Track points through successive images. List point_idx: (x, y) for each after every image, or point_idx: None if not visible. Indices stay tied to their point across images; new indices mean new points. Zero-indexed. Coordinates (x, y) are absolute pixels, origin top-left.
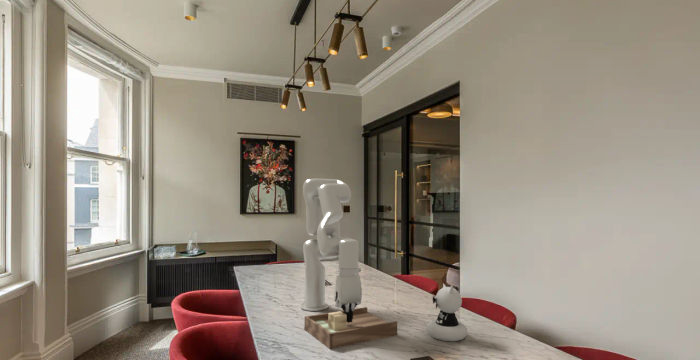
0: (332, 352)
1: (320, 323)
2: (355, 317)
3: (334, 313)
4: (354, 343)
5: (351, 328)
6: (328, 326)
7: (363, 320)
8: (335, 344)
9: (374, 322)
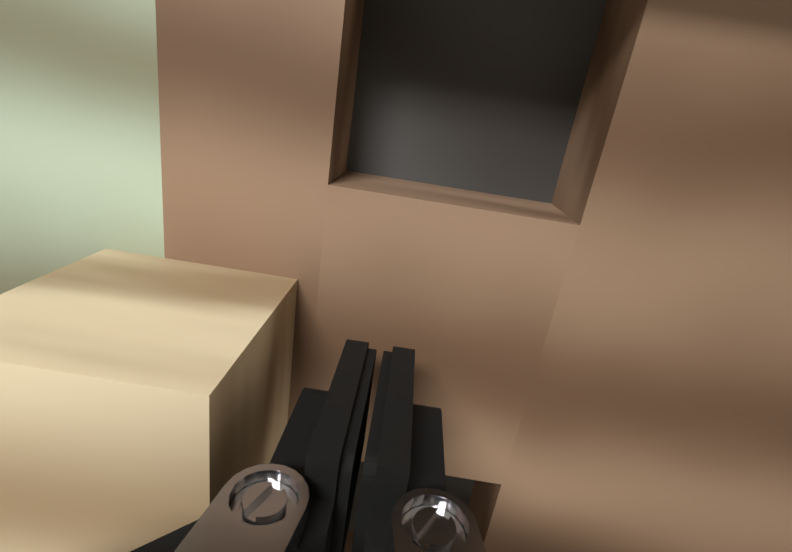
0: None
1: (48, 33)
2: (757, 138)
3: (16, 439)
4: None
5: None
6: (102, 257)
7: (710, 338)
8: None
9: (740, 477)
